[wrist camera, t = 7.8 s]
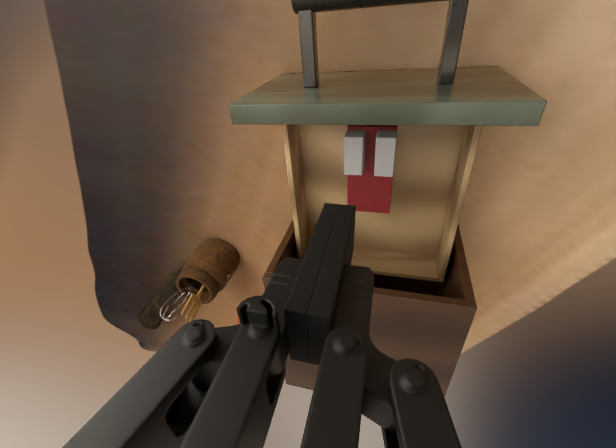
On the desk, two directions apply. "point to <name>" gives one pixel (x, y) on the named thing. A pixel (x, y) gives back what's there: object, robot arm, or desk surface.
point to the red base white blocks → (370, 166)
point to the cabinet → (406, 316)
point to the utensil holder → (205, 274)
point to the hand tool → (160, 304)
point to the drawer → (409, 145)
